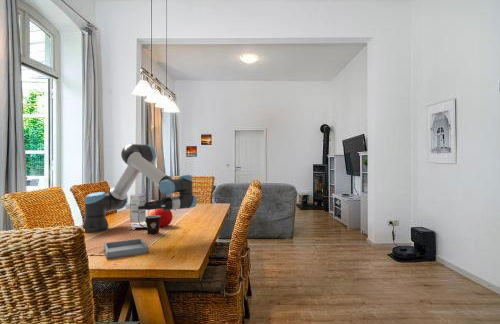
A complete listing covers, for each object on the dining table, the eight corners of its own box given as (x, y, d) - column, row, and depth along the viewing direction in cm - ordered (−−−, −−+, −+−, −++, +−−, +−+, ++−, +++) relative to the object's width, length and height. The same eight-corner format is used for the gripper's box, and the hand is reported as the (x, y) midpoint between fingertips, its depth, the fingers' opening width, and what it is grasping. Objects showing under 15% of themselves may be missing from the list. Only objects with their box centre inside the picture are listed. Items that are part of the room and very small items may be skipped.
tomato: (156, 224, 209) (156, 206, 208) (173, 224, 210) (173, 206, 210) (152, 228, 196) (152, 209, 196) (170, 228, 198) (170, 208, 197)
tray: (103, 248, 151) (103, 242, 151) (141, 243, 160) (141, 238, 160) (106, 259, 136) (106, 252, 136) (148, 252, 145) (148, 246, 145)
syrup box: (146, 220, 161) (146, 193, 161) (139, 223, 155) (138, 194, 155) (137, 220, 162) (137, 193, 162) (129, 222, 157) (129, 194, 157)
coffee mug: (162, 231, 188) (162, 215, 188) (157, 234, 180) (157, 218, 180) (144, 231, 189) (144, 215, 189) (138, 234, 181) (138, 217, 181)
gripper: (178, 212, 162) (135, 217, 148) (162, 207, 178) (122, 212, 164) (178, 198, 162) (135, 202, 148) (162, 195, 178) (122, 198, 164)
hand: (128, 207), depth 156 cm, fingers closed on syrup box, 8 cm apart
